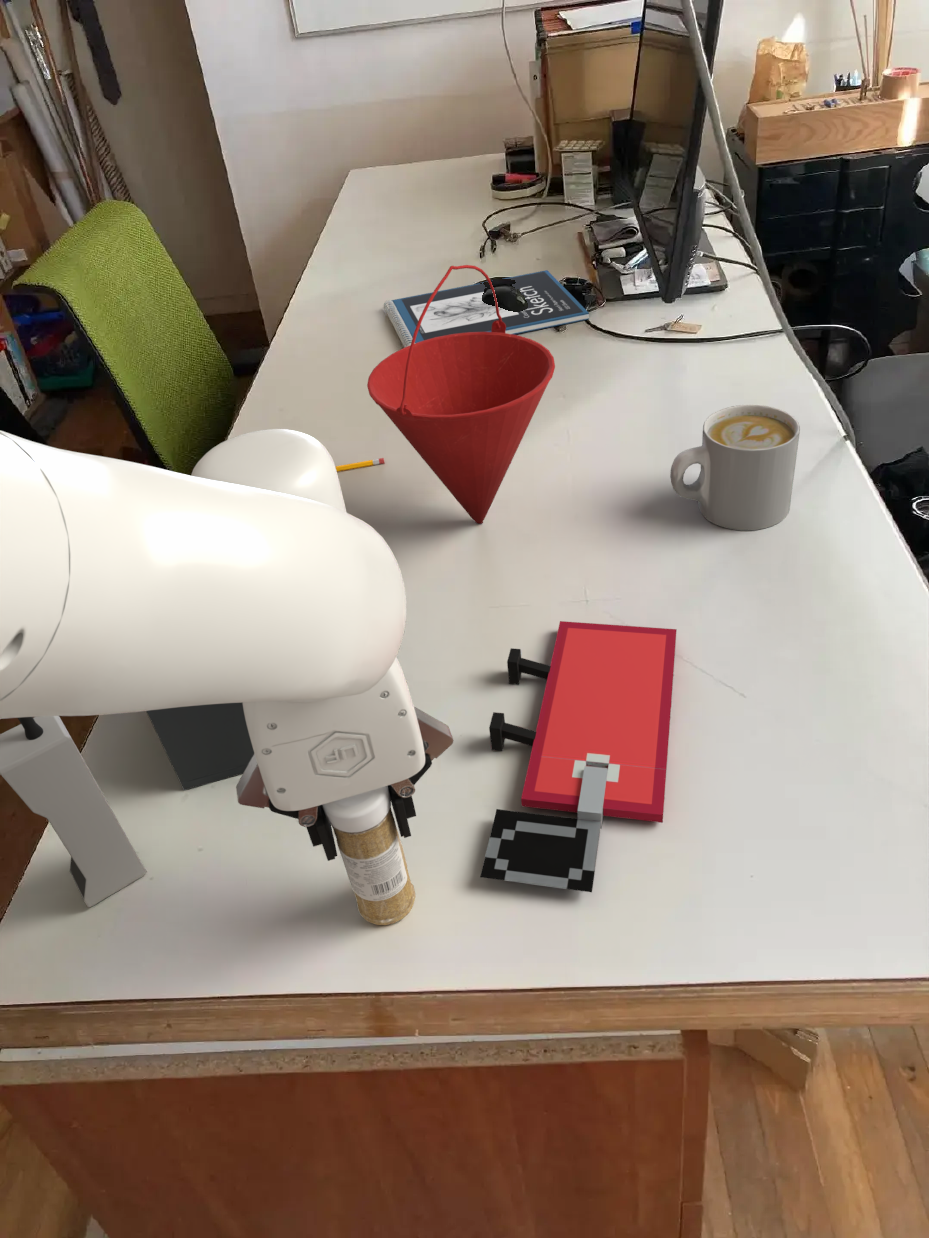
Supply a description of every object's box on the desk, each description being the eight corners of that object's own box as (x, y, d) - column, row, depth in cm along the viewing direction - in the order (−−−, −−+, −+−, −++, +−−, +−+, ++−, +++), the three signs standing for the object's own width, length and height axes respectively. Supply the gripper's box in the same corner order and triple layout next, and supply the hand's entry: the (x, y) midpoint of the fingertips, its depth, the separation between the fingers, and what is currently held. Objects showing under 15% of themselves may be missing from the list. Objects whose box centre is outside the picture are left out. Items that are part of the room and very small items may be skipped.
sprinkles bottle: (410, 869, 73) (381, 755, 64) (420, 919, 69) (391, 805, 61) (353, 884, 72) (316, 771, 64) (360, 935, 69) (323, 822, 60)
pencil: (384, 464, 122) (383, 460, 121) (239, 490, 121) (237, 486, 120) (384, 461, 122) (383, 457, 122) (239, 487, 121) (238, 483, 121)
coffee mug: (781, 479, 108) (790, 401, 102) (797, 528, 101) (808, 447, 94) (664, 485, 110) (666, 409, 104) (672, 534, 103) (674, 455, 96)
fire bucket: (450, 463, 120) (416, 223, 101) (592, 489, 111) (584, 232, 92) (359, 558, 106) (300, 300, 87) (514, 595, 98) (485, 319, 78)
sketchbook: (589, 320, 149) (589, 308, 148) (408, 359, 146) (406, 347, 144) (547, 276, 166) (547, 265, 164) (383, 310, 162) (381, 298, 161)
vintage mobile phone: (74, 879, 76) (-73, 654, 60) (132, 846, 78) (4, 619, 62) (89, 910, 73) (-61, 683, 57) (148, 874, 75) (19, 646, 59)
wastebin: (355, 741, 84) (333, 661, 78) (183, 790, 82) (146, 711, 75) (319, 602, 100) (298, 526, 94) (175, 640, 98) (143, 565, 92)
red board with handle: (457, 881, 71) (656, 908, 68) (453, 859, 69) (657, 885, 66) (523, 629, 93) (675, 640, 90) (521, 607, 92) (677, 618, 88)
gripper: (164, 723, 50) (252, 913, 61) (466, 641, 52) (496, 839, 64) (161, 638, 55) (242, 826, 67) (434, 567, 58) (466, 761, 69)
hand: (365, 830), depth 65 cm, fingers closed on sprinkles bottle, 4 cm apart
